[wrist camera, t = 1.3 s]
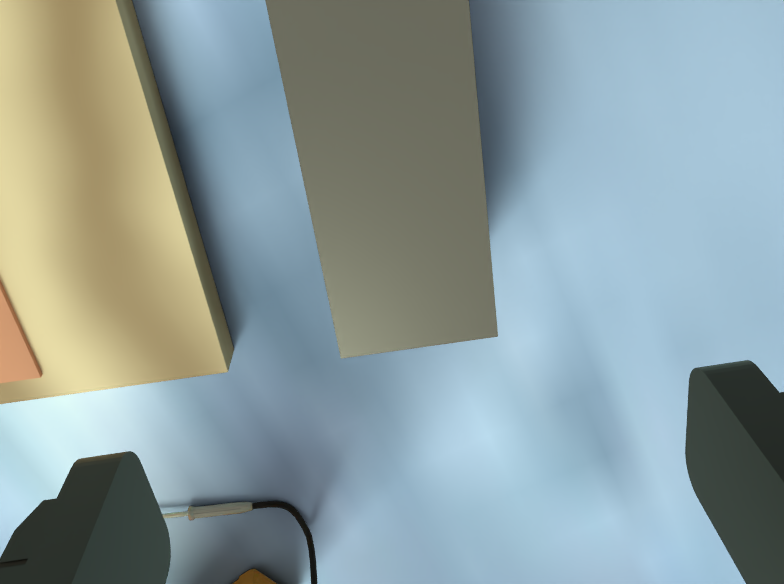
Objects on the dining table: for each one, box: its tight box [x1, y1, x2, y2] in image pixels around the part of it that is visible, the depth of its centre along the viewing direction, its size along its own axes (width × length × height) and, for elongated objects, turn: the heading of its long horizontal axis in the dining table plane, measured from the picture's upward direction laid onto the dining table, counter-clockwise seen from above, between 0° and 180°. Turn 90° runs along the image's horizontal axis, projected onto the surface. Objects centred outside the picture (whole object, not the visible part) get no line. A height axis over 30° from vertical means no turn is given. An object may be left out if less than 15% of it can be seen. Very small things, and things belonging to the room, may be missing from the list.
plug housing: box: [265, 0, 498, 358], centre depth 22 cm, size 5×11×5 cm, turn 8°
